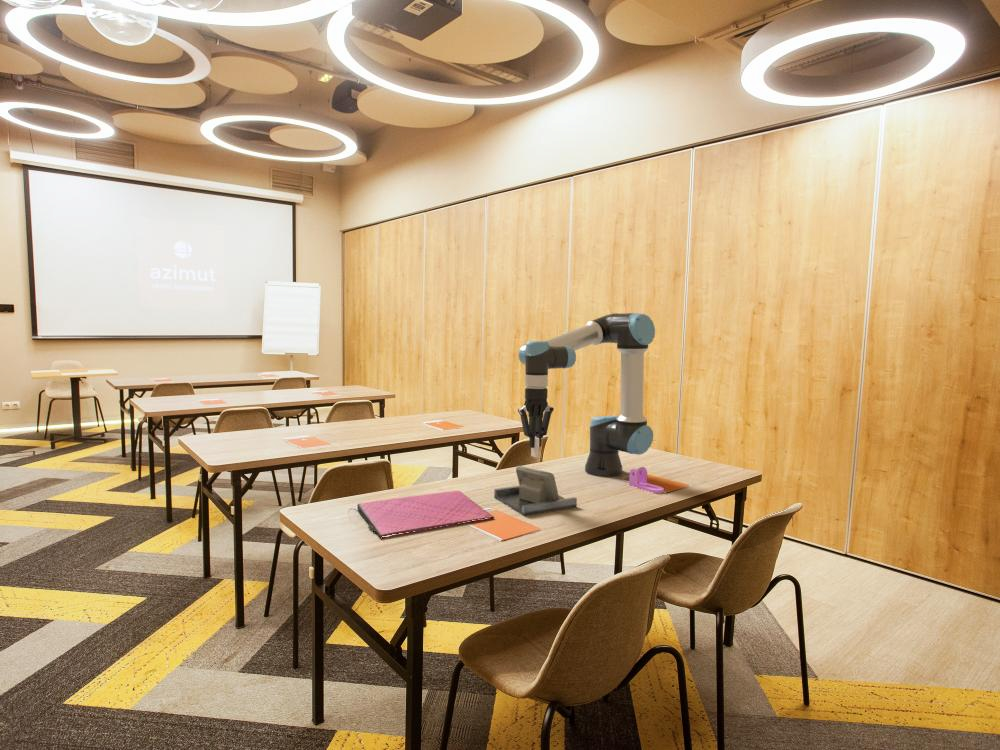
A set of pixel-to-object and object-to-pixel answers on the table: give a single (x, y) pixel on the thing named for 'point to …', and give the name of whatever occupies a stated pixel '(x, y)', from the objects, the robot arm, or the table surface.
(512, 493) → the rail plate
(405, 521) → the laptop bag
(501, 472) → the table surface
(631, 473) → the bracket
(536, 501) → the digital clock
